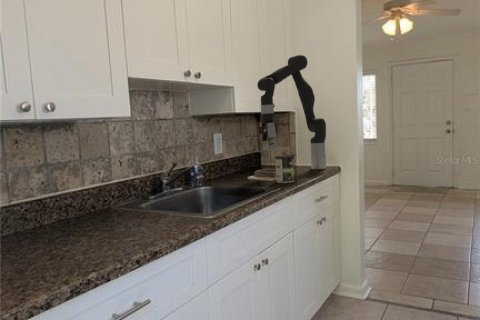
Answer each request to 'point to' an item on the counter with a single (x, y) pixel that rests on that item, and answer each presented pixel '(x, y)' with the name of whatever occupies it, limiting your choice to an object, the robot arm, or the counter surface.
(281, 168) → the coffee can
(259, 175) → the cradle board
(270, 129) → the coffee box
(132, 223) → the counter surface
